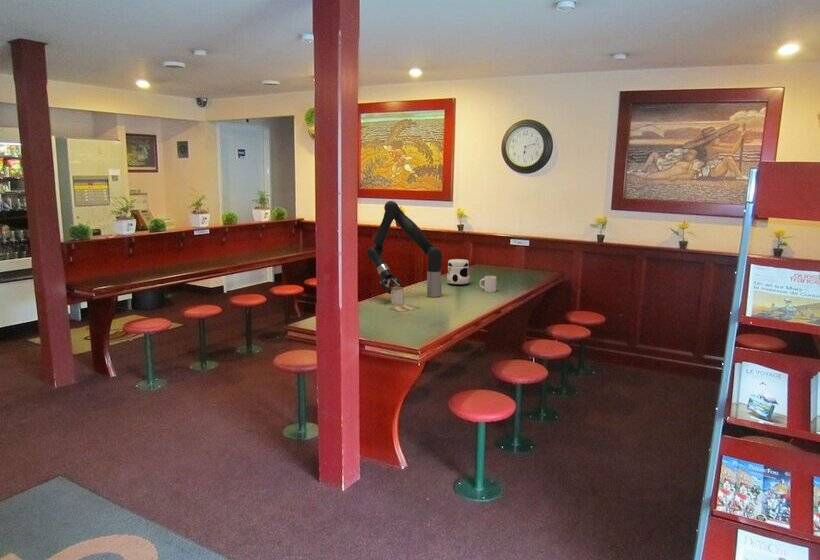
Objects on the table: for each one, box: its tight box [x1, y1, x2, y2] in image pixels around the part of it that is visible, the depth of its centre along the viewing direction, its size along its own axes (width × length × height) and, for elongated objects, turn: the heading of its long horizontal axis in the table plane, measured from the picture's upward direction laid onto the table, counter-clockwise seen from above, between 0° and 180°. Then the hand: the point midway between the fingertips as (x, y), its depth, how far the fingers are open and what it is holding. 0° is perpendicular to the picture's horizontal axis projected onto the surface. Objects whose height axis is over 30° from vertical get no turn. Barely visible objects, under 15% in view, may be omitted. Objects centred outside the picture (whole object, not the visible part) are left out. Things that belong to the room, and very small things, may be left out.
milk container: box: [446, 258, 471, 286], centre depth 430 cm, size 17×17×18 cm
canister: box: [390, 285, 404, 306], centre depth 368 cm, size 5×5×11 cm
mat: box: [387, 304, 420, 313], centre depth 357 cm, size 16×12×1 cm
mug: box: [478, 275, 497, 293], centre depth 407 cm, size 12×8×10 cm
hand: (395, 292), depth 369 cm, fingers open, 8 cm apart
